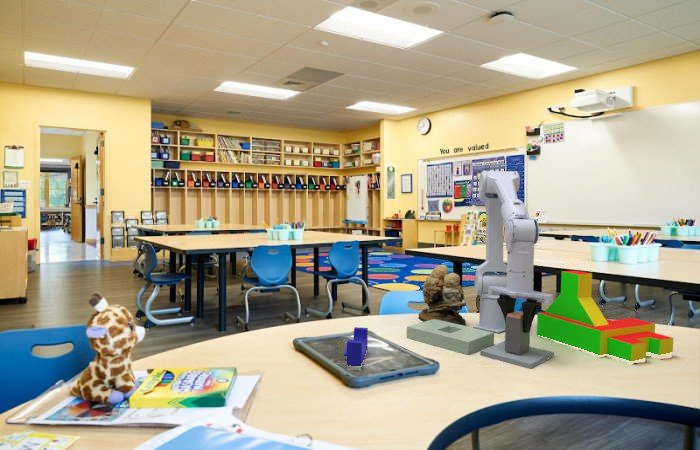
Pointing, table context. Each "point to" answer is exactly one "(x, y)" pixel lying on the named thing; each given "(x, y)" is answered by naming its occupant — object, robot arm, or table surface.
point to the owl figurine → (443, 297)
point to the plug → (516, 334)
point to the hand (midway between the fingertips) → (517, 330)
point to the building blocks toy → (596, 324)
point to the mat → (517, 355)
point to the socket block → (451, 336)
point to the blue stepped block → (357, 347)
